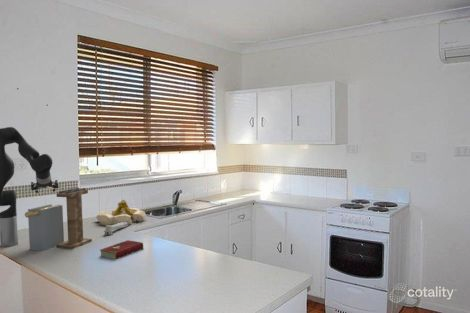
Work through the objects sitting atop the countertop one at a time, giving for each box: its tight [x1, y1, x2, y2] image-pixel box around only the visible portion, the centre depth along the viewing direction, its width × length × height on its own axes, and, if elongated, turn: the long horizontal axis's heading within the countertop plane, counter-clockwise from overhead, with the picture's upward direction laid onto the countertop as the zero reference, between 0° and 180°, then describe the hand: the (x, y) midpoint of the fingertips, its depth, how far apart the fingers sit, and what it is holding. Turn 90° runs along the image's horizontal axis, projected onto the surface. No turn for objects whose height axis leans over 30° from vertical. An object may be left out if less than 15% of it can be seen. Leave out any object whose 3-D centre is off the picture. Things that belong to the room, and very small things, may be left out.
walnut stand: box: [55, 187, 93, 250], centre depth 231 cm, size 16×12×33 cm
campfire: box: [96, 199, 147, 227], centre depth 293 cm, size 35×34×17 cm
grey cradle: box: [27, 203, 65, 252], centre depth 228 cm, size 16×10×24 cm, turn 161°
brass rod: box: [24, 204, 59, 218], centre depth 224 cm, size 24×3×3 cm
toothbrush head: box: [103, 222, 129, 236], centre depth 263 cm, size 5×7×25 cm
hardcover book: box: [99, 239, 144, 260], centre depth 214 cm, size 12×21×4 cm, turn 151°
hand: (45, 191), depth 227 cm, fingers open, 8 cm apart
